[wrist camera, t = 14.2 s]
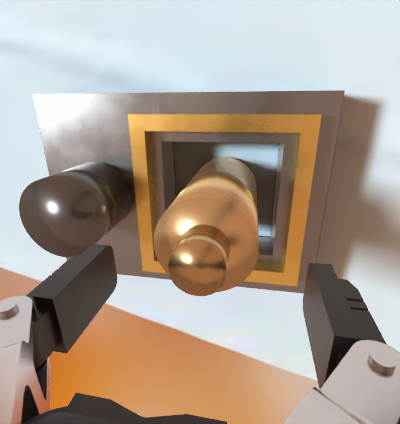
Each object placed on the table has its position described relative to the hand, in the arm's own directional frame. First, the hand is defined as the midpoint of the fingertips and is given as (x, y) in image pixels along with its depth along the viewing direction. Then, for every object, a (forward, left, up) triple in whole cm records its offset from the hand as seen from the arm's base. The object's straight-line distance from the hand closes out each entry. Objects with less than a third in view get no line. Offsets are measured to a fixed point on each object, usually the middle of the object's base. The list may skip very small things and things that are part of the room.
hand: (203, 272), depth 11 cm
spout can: (0, 0, -12) cm, 12 cm away
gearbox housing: (+3, 0, -12) cm, 12 cm away
